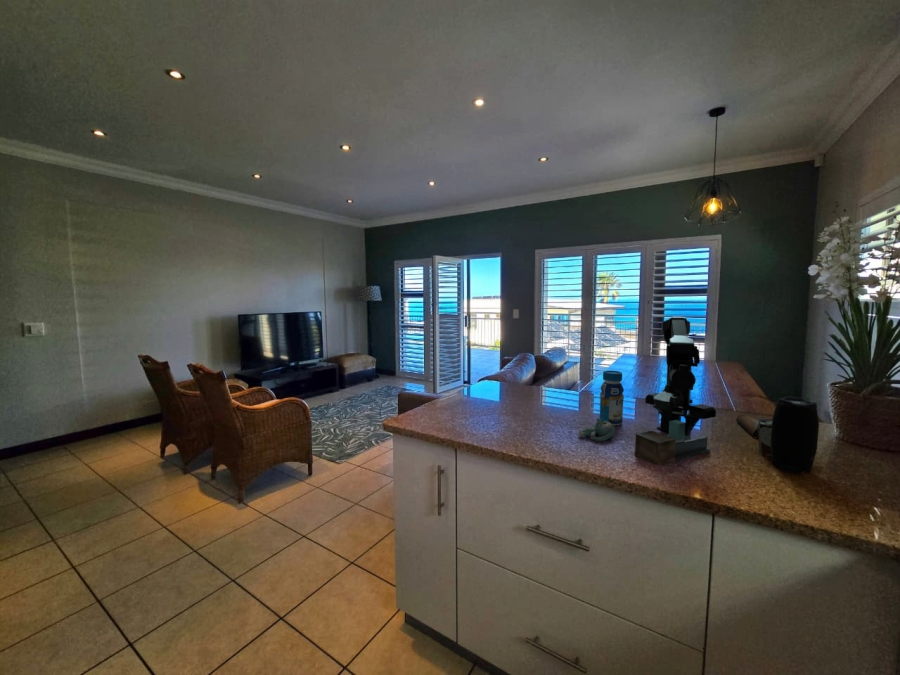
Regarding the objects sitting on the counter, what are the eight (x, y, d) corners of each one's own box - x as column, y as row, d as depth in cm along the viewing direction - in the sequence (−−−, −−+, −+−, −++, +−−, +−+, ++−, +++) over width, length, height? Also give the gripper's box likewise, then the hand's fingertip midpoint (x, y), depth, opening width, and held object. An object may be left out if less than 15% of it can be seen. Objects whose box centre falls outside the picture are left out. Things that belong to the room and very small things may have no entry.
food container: (793, 451, 112) (796, 419, 111) (805, 459, 106) (808, 426, 105) (745, 446, 116) (748, 416, 115) (754, 453, 110) (757, 422, 109)
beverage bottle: (601, 417, 145) (603, 369, 144) (624, 421, 140) (626, 371, 139) (596, 423, 139) (598, 372, 137) (620, 427, 134) (622, 374, 132)
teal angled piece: (673, 445, 113) (675, 419, 113) (684, 449, 110) (686, 423, 109) (644, 452, 108) (645, 425, 108) (655, 456, 105) (656, 429, 104)
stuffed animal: (572, 417, 130) (605, 411, 129) (576, 436, 130) (609, 430, 130) (582, 427, 119) (619, 421, 118) (586, 448, 120) (622, 441, 119)
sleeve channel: (684, 442, 119) (685, 429, 118) (710, 452, 112) (710, 438, 111) (650, 450, 113) (651, 437, 112) (675, 461, 105) (675, 446, 105)
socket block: (650, 450, 113) (651, 430, 112) (675, 461, 105) (676, 439, 105) (634, 454, 110) (635, 433, 109) (658, 465, 103) (659, 443, 102)
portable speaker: (823, 476, 96) (830, 404, 94) (785, 475, 96) (792, 404, 95) (795, 461, 104) (801, 396, 102) (760, 461, 105) (766, 395, 103)
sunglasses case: (785, 441, 119) (773, 423, 120) (761, 449, 122) (750, 431, 123) (763, 424, 136) (752, 408, 137) (742, 431, 139) (732, 416, 139)
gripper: (633, 379, 115) (631, 426, 116) (692, 392, 98) (689, 447, 99) (658, 376, 119) (656, 421, 120) (718, 388, 102) (715, 441, 103)
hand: (676, 432), depth 111 cm, fingers open, 6 cm apart
